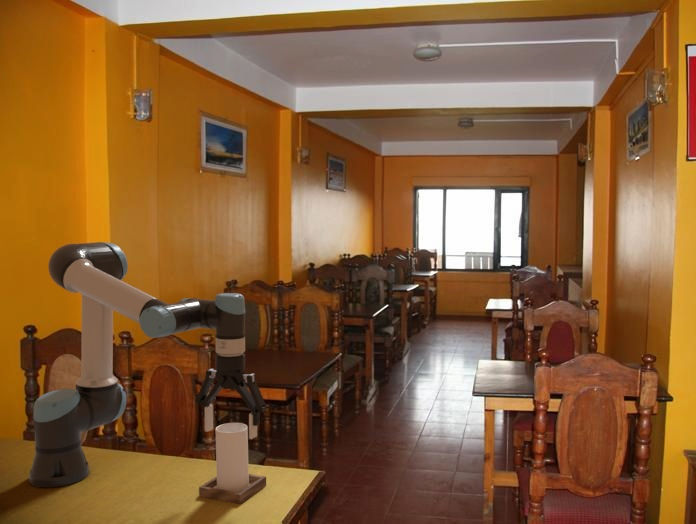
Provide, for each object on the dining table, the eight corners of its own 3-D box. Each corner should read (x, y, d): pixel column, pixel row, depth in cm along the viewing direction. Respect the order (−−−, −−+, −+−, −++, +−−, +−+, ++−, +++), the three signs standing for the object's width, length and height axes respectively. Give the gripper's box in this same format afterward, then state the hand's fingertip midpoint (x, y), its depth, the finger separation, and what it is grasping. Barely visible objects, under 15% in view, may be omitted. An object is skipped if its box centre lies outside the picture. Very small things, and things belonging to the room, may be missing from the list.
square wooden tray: (199, 496, 168) (199, 487, 168) (226, 478, 180) (226, 470, 180) (240, 503, 163) (240, 494, 163) (266, 485, 175) (266, 476, 175)
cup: (210, 490, 170) (208, 429, 169) (230, 479, 177) (228, 421, 176) (236, 496, 166) (234, 434, 165) (255, 484, 173) (253, 425, 172)
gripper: (181, 351, 171) (182, 431, 172) (264, 361, 161) (264, 445, 162) (199, 346, 178) (199, 423, 179) (279, 355, 168) (279, 436, 169)
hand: (230, 433), depth 171 cm, fingers open, 13 cm apart
